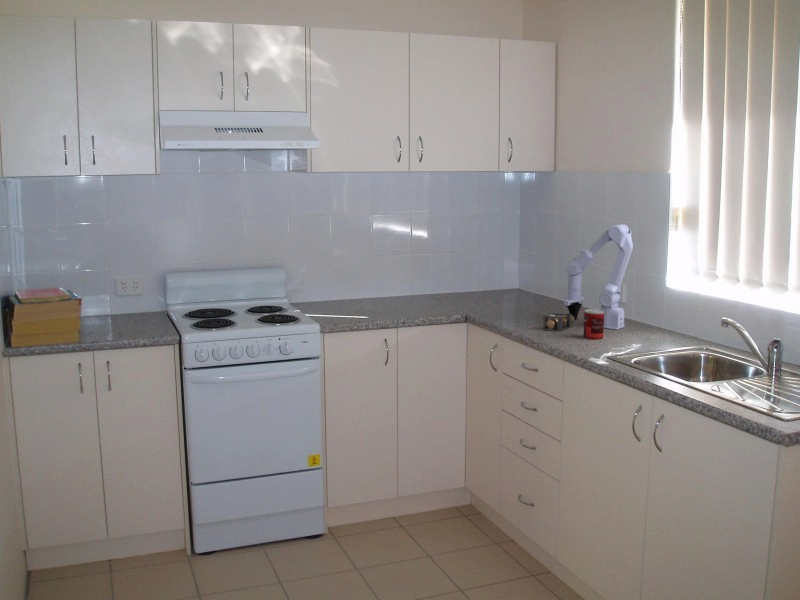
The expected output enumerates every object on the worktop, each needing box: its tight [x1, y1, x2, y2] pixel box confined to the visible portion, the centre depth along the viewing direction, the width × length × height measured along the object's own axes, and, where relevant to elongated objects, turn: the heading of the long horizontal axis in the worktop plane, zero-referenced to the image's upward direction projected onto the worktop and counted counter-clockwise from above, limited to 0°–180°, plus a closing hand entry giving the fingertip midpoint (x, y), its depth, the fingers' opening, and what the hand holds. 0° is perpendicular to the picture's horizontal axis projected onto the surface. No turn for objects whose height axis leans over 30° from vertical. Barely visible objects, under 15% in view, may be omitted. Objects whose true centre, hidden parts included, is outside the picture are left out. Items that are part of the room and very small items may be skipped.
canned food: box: [583, 308, 605, 341], centre depth 332 cm, size 8×8×11 cm
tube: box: [546, 315, 575, 329], centre depth 354 cm, size 4×18×4 cm, turn 140°
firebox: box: [541, 311, 573, 332], centre depth 352 cm, size 8×12×6 cm, turn 140°
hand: (573, 319), depth 363 cm, fingers closed
